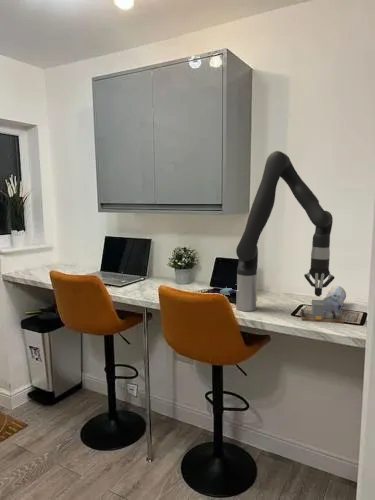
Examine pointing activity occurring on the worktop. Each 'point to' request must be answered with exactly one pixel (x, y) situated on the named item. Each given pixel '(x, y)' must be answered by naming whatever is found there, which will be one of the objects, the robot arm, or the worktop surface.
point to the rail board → (328, 317)
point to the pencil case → (334, 299)
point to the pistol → (227, 291)
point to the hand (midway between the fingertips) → (318, 296)
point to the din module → (318, 309)
